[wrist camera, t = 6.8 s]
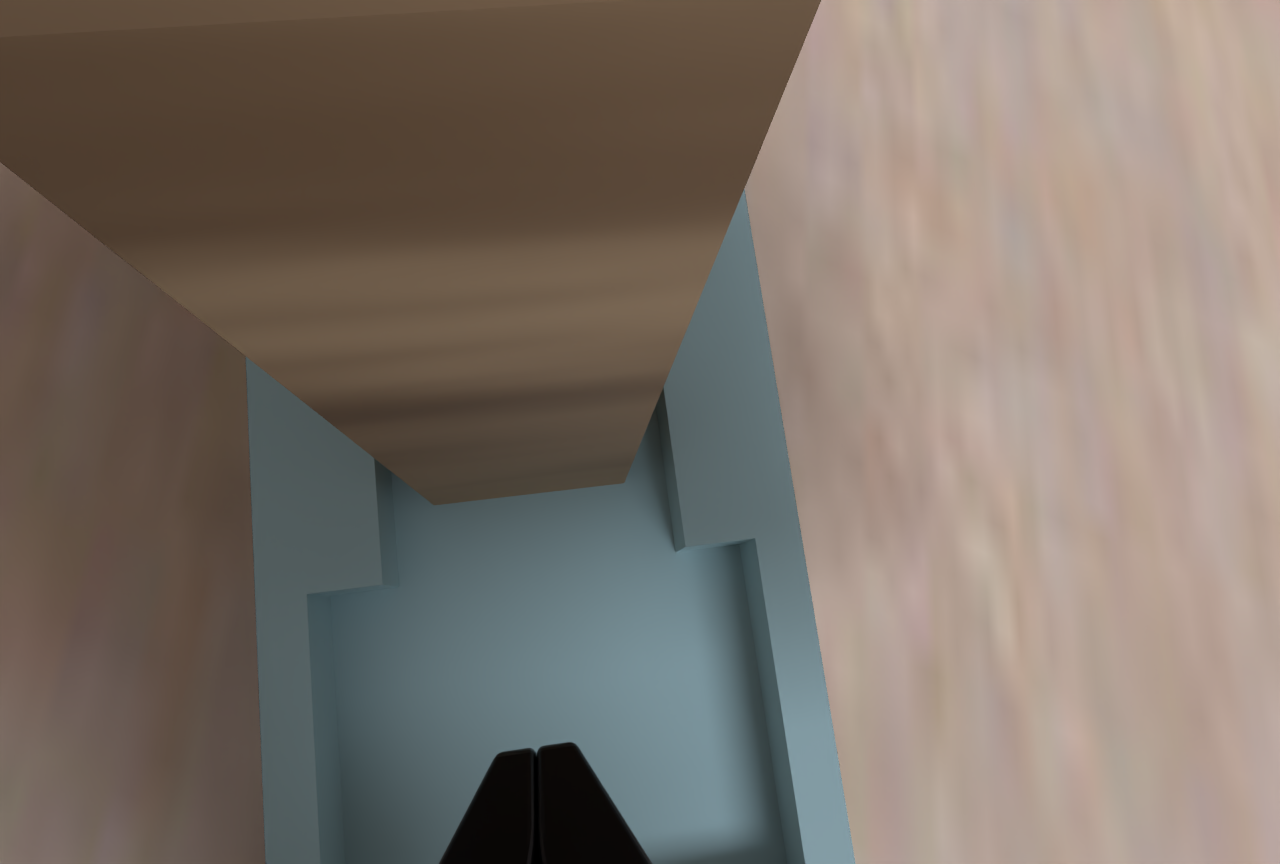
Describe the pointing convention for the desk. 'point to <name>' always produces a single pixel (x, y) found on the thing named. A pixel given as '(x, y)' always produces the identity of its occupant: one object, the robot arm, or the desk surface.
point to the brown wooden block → (416, 199)
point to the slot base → (550, 626)
